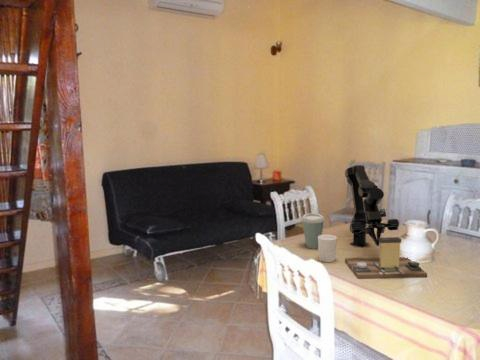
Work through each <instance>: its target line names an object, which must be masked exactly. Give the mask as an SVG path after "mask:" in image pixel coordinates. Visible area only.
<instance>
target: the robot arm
mask: <svg viewBox="0 0 480 360" xmlns="http://www.w3.org/2000/svg"><path fill="white" fill-rule="evenodd" d="M344 175H345V176H344V177H345V178H346V181H347V183H348V185H349V186H350V187H351V195H352V203H353V211H354V214H353V216H352V218H351V221H350V223H349V232H351V234H353V237H352V242H351V243H350V245H351V246H356V247H360V248H364V247H365V246H368V245H369V242H367V235H369V237H370V238H371V239H372V240H373V242H374V244H375V246H376V247H380V242H379V238H381V236H382V234H383V233H385V230H386V228H387V230H388V231H398V230H399V227H400V221H399V219H398V218H390V219H387V222H383V219H382V218H385V217H387V214H386V208H380V209H379V204H381V202H382V200H383V198H384V195H385V193H384V191H383V190H382V189H381V188H380V187H378V185H376V183H375V182H374V181H371V180H370V178H369V176H368V174H367V172H366V169H365V166H364V165H362V164H361V165H359V164H357V165H352V166H351V167H347V168H346V169H345V172H344ZM363 198H365V199H363ZM375 229H376V233H375Z"/></svg>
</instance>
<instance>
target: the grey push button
mask: <svg viewBox="0 0 480 360" xmlns="http://www.w3.org/2000/svg"><path fill="white" fill-rule="evenodd" d="M357 267H358V268H361V269H365V268H367V263H365V262H357Z"/></svg>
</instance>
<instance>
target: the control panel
mask: <svg viewBox="0 0 480 360" xmlns="http://www.w3.org/2000/svg"><path fill="white" fill-rule="evenodd" d="M405 257H406V256H404V257H403V256H399V267H395V268H396V269H397V272H385V271H384V270H383V269H382V268H380V267H379V257H355V258H354V257H353V258H352V257H350V258H344V263H345V264H346V265H347V267H348V268H349V269H350V270H351V272H352V273H353V274H354V276H355V277H356V278H357V279H362V280H363V279H394V278H395V279H397V278H398V279H399V278H428V272H426V270H424V269H422V267H420V265H419V266H411V265H409V264H408V262H413V261H412V260H411V259H410V258H409V257H407V258H405ZM408 258H409V259H408ZM357 262H365V263H367V268H365V269H361V268H358V267H357Z"/></svg>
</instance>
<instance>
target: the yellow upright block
mask: <svg viewBox="0 0 480 360" xmlns="http://www.w3.org/2000/svg"><path fill="white" fill-rule="evenodd" d="M401 243H402V239H401V238H400V237H399V236H397V237H394V236H393V237H392V236H391V237H380V238H379V252H378V253H379V254H378V255H379V257H378V258H379V267H380V268H382V269H383V270H384V271H385V272H397V269H396V268H395V267H399V257H400V248H401V247H400V246H401Z"/></svg>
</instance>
